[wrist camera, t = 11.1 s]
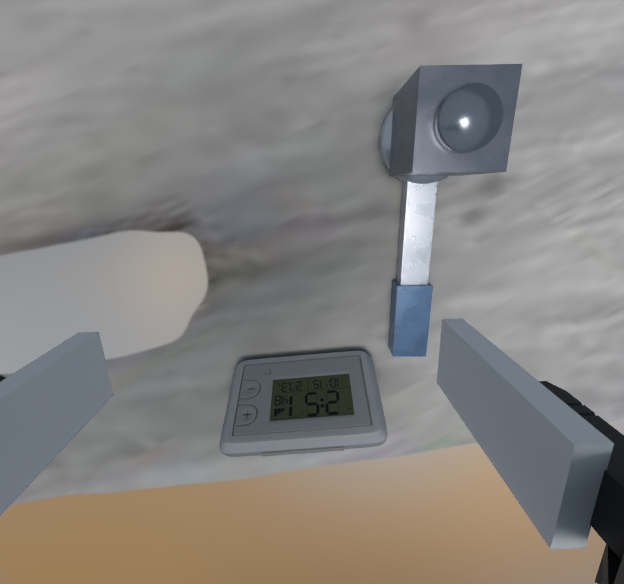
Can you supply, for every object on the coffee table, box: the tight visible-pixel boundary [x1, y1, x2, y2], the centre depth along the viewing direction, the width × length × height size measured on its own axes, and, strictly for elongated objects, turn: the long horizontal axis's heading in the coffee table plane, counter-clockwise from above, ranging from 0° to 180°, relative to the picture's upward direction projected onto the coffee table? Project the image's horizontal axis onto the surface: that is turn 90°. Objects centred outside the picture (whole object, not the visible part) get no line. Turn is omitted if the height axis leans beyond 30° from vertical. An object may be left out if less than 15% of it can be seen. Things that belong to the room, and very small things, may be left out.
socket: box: [389, 64, 522, 176], centre depth 26 cm, size 6×6×9 cm
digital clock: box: [220, 351, 387, 457], centre depth 35 cm, size 16×9×11 cm, turn 85°
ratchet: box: [378, 108, 448, 356], centre depth 33 cm, size 8×26×6 cm, turn 1°
